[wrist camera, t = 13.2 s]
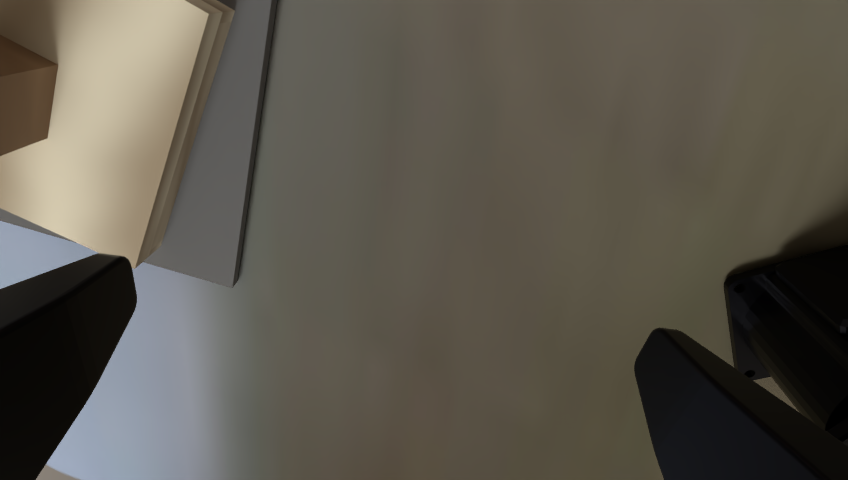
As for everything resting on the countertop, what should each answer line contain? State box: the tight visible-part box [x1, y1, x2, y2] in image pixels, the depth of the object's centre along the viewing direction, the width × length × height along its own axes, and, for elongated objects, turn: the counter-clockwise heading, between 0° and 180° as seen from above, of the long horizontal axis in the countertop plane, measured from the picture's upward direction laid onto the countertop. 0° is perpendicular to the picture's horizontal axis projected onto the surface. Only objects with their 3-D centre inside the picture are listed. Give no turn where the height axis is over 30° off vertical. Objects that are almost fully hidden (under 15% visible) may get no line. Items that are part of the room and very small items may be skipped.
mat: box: [0, 0, 277, 288], centre depth 18 cm, size 16×16×1 cm
